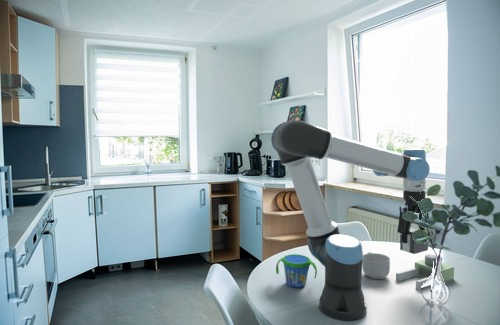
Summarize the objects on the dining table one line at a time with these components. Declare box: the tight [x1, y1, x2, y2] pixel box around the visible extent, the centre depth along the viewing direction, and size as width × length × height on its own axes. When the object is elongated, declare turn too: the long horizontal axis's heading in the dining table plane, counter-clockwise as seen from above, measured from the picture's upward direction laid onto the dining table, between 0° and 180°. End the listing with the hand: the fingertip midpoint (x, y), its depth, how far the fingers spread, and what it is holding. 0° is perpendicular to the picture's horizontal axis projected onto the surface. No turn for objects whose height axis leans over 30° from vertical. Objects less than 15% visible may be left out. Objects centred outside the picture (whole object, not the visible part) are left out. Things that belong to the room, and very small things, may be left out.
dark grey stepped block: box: [399, 227, 429, 255], centre depth 132 cm, size 8×6×8 cm
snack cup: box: [275, 253, 318, 289], centre depth 134 cm, size 16×10×10 cm
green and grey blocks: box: [395, 253, 455, 291], centre depth 138 cm, size 21×11×8 cm, turn 119°
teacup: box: [362, 251, 391, 280], centre depth 143 cm, size 14×11×8 cm
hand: (413, 248), depth 132 cm, fingers closed on dark grey stepped block, 8 cm apart
